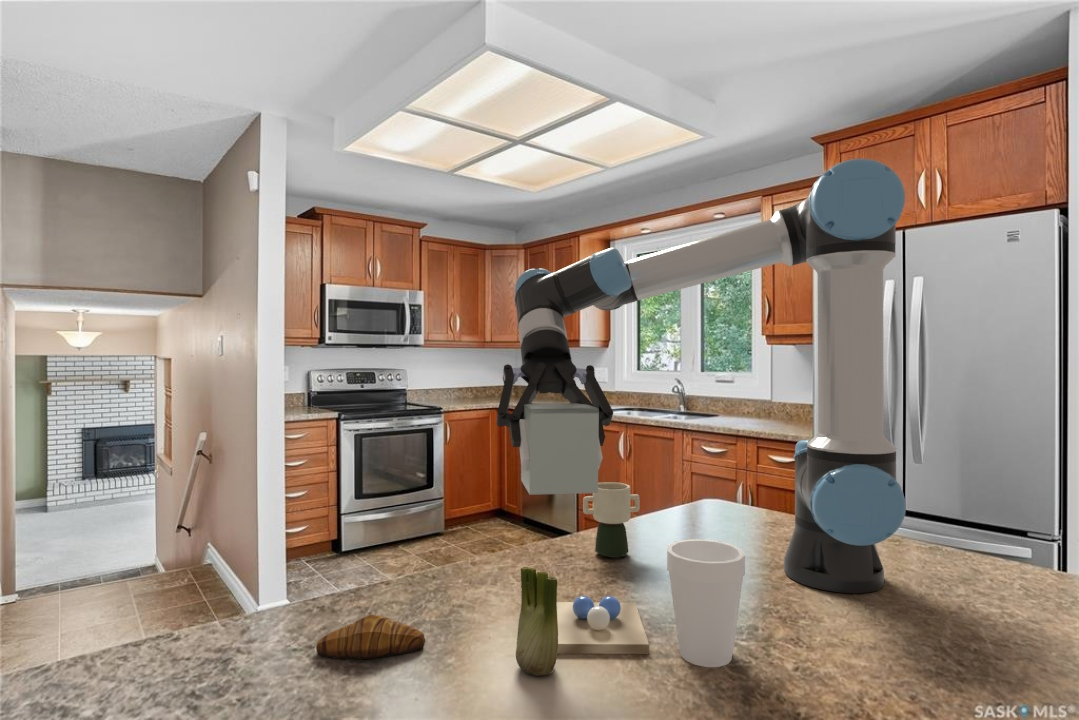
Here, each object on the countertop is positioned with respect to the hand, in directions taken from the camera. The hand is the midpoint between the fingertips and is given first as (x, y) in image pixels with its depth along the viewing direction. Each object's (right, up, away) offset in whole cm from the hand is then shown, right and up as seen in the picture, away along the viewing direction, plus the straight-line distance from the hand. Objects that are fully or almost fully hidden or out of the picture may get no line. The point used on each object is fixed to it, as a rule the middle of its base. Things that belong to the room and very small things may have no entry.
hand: (562, 464), depth 80 cm
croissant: (-24, -24, -3) cm, 34 cm away
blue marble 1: (+3, -22, +4) cm, 22 cm away
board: (+3, -23, +3) cm, 23 cm away
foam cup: (+18, -23, -4) cm, 30 cm away
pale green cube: (0, -4, +3) cm, 5 cm away
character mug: (+11, -23, +34) cm, 43 cm away
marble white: (+5, -22, 0) cm, 22 cm away
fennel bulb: (-3, -23, -7) cm, 25 cm away
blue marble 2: (+7, -22, +4) cm, 23 cm away
